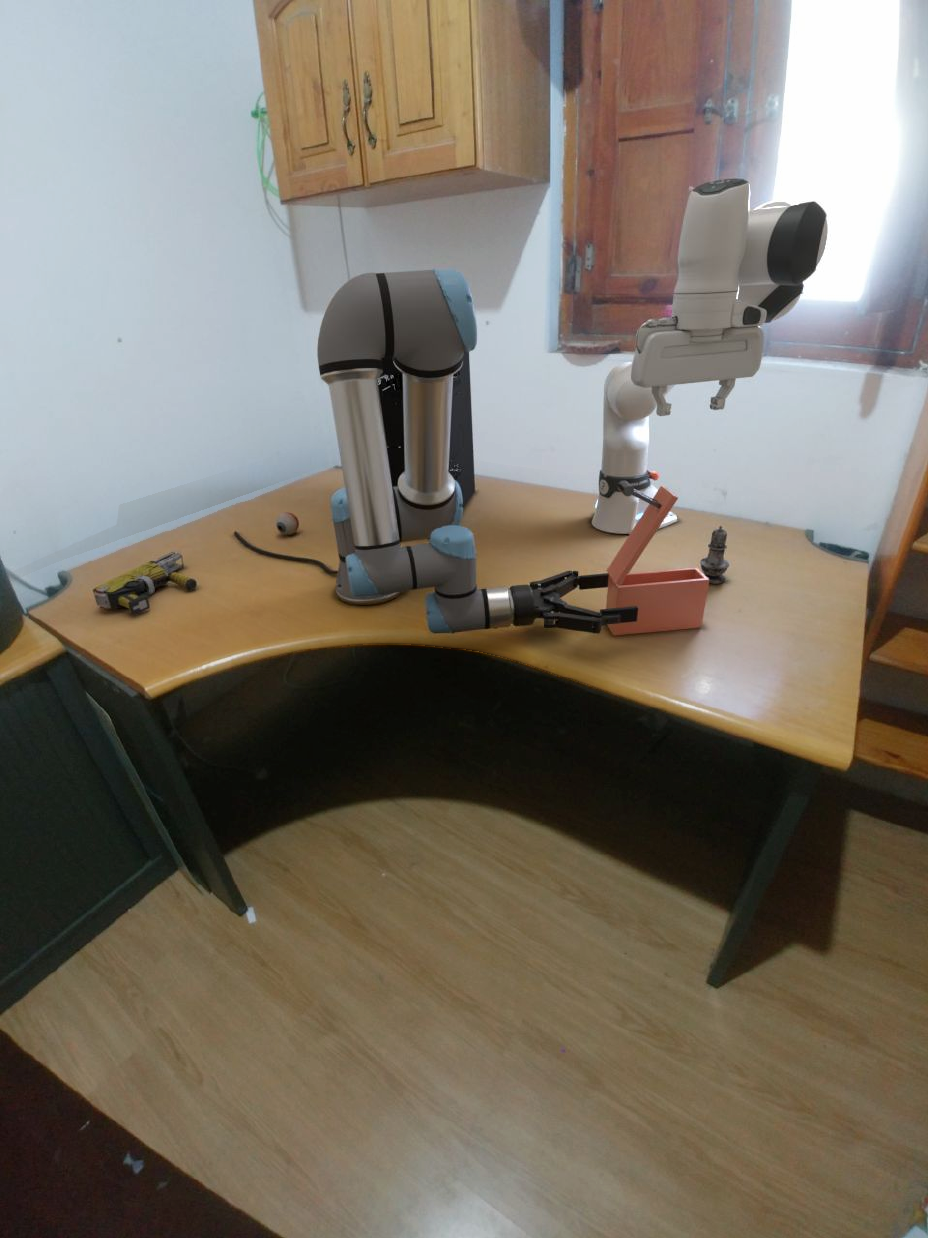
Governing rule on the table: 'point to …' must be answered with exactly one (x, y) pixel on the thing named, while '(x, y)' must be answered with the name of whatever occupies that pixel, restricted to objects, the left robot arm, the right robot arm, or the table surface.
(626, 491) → the lid
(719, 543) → the salt shaker
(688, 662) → the table surface
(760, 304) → the right robot arm
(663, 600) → the chest
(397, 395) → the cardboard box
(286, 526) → the eyeball
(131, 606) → the toy gun
